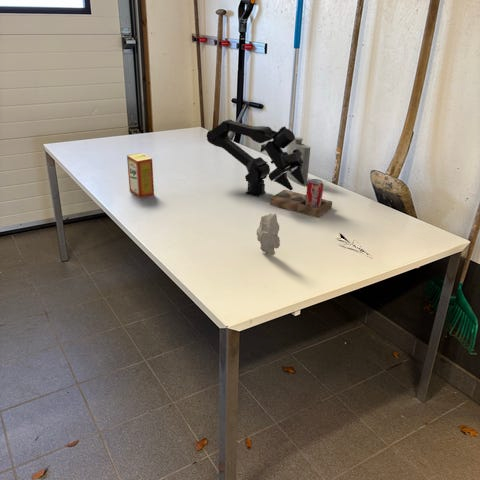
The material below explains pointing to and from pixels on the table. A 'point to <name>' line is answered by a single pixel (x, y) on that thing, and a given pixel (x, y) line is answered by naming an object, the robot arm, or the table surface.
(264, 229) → the grey figurine
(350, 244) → the toy airplane
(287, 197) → the wooden tray
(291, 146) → the hip flask
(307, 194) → the soda can
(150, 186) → the baking soda box
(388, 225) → the table surface
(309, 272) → the table surface
